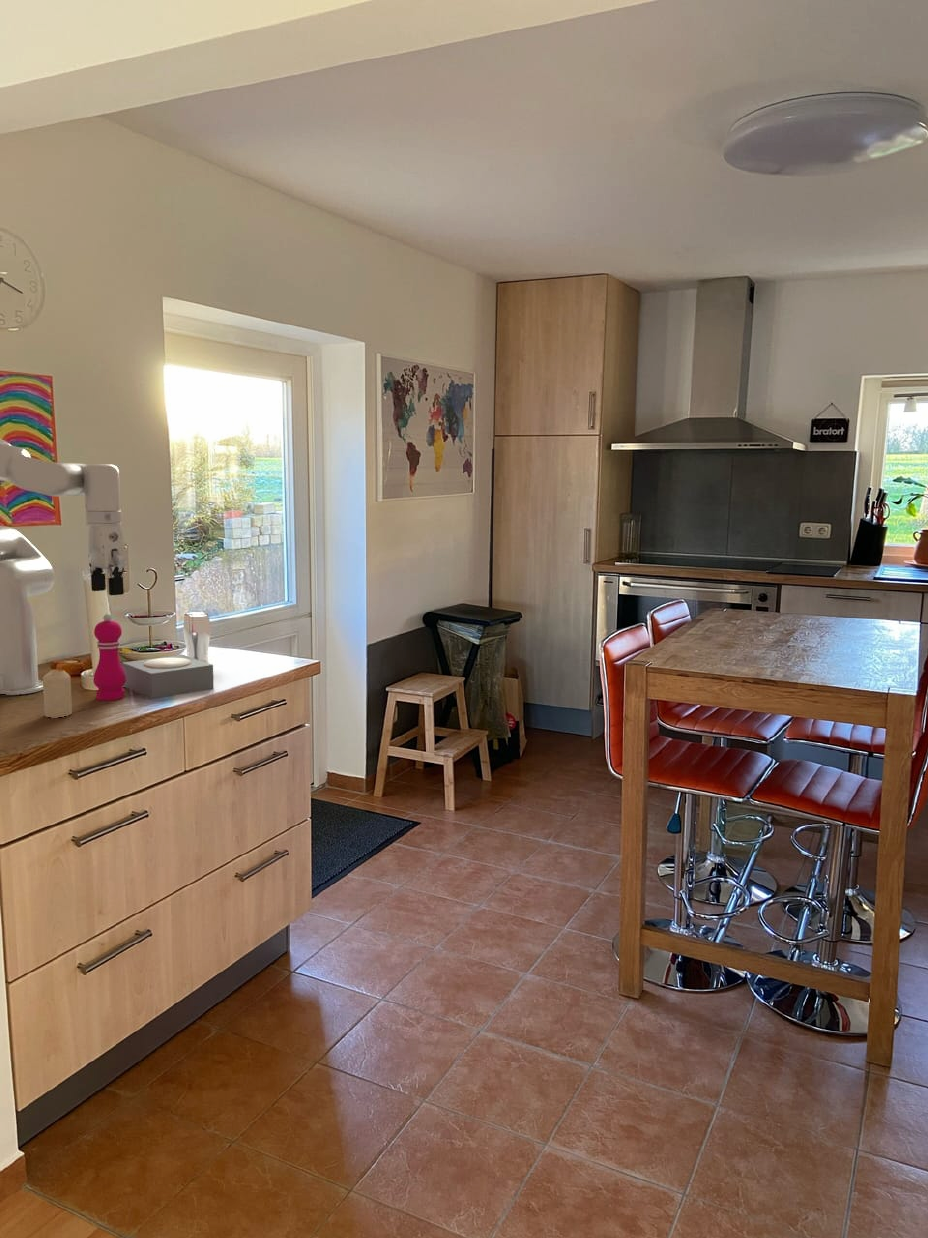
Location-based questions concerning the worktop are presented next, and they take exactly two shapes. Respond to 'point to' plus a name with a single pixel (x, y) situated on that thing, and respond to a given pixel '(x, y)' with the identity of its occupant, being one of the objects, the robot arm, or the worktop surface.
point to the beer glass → (197, 635)
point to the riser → (168, 676)
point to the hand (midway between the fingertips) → (107, 592)
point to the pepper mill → (109, 661)
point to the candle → (57, 694)
